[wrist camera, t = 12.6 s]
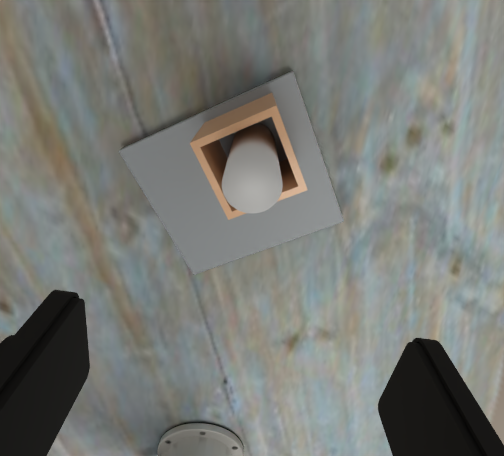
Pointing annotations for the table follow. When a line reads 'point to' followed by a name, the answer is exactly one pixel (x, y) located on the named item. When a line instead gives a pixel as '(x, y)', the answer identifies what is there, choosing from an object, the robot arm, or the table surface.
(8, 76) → the table surface
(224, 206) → the hollow square tube
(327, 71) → the table surface
